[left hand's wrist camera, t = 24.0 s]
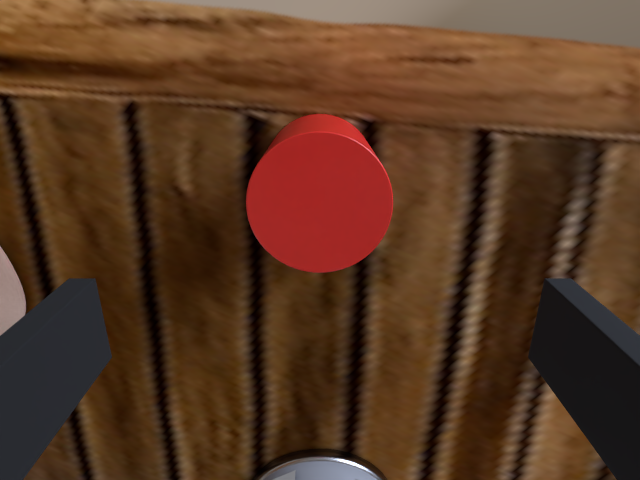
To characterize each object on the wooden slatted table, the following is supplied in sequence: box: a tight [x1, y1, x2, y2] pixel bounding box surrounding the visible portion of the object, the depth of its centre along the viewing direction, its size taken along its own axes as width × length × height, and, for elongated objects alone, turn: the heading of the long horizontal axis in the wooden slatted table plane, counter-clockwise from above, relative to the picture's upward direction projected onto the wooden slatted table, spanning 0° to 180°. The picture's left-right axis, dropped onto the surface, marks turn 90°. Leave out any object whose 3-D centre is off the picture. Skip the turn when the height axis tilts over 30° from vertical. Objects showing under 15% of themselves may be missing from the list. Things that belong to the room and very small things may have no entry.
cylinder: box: [246, 114, 393, 273], centre depth 28 cm, size 8×8×10 cm
